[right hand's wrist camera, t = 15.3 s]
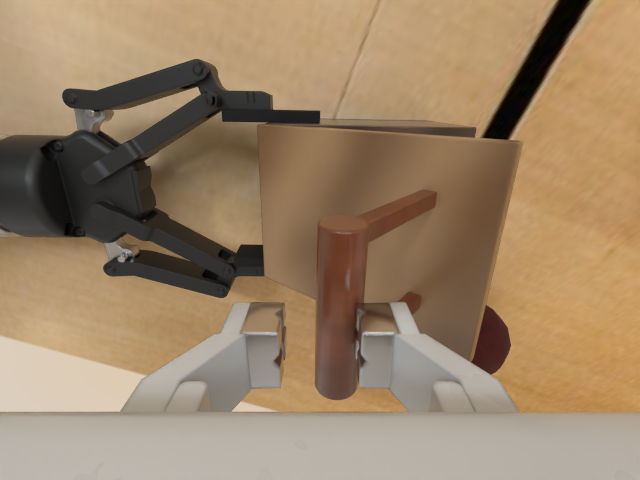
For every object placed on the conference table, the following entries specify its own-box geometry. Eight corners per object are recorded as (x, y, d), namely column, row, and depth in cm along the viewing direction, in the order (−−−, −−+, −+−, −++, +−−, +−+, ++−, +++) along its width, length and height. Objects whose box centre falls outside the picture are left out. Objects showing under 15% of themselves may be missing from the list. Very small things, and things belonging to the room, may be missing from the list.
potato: (423, 350, 39) (444, 399, 32) (421, 291, 36) (445, 332, 29) (488, 343, 38) (523, 391, 32) (492, 283, 36) (531, 323, 29)
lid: (524, 140, 13) (446, 166, 7) (473, 358, 16) (395, 495, 10) (268, 123, 20) (132, 128, 15) (273, 272, 24) (166, 323, 18)
